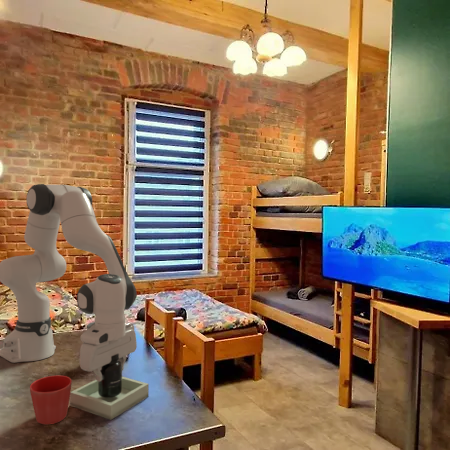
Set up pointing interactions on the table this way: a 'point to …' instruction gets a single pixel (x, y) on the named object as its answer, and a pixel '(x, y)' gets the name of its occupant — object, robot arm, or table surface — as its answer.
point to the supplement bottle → (111, 378)
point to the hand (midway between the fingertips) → (110, 375)
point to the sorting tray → (112, 406)
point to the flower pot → (51, 398)
